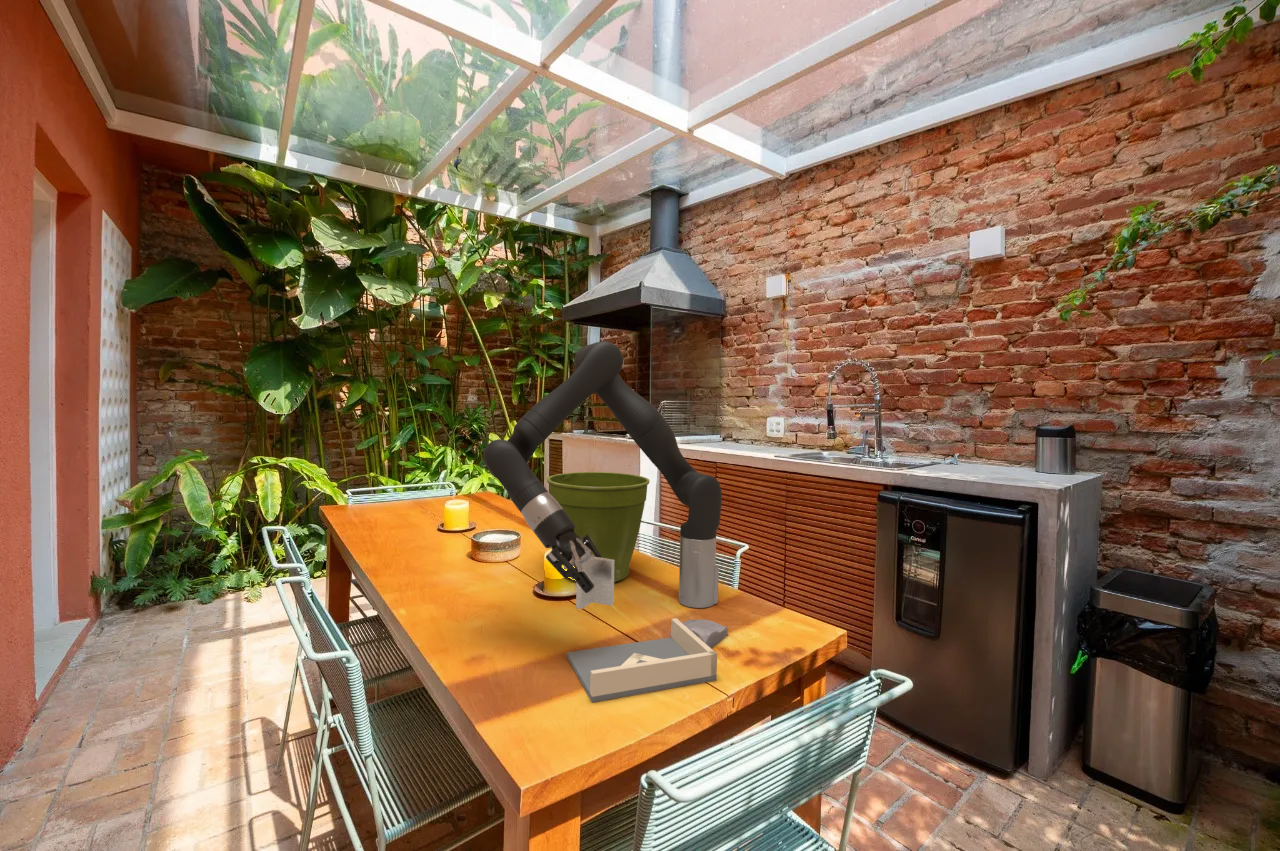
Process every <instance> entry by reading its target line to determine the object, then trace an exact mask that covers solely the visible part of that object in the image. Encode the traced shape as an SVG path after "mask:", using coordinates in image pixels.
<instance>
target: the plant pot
mask: <svg viewBox="0 0 1280 851" xmlns="http://www.w3.org/2000/svg"><path fill="white" fill-rule="evenodd" d="M546 482H547V484H548V488H549V489H548V492H549V493H550V494H551V495H552V496H553V497H554V498H555V499H556V500H557V502H558V503H559V504H560V506H561V507H562V508H563V509H564V511H565V512H566V513H567V515H568V516H569V517H570V518H571V520H572V521H573V522H574V524H575V528H574V533H575V534H576V535H578V536H579V537H580V538H583V537H584V536H585V535H588V536H589V537H590V539H591V540H592V542H593V544H594V545H595V547H596V548H597V550H598V552H599V553H600V555H601V558H606V559H613V560H615V561H614V583H617V582H620V581H623V580H624V579H626V578H627V577H628V576H629V574H630V564H631V560H632V558H633V554H634V551H635V548H636V545H637V540H638V536H639V533H640V529H641V524H642V518H643V513H644V509H645V502H646V501H647V495H648V494H647V493H648V485H649V484H650V482H651V481H650V479H649V478H647V477H645V476H642V475H639V474H638V475H636V474H633V473H632V474H631V473H624V472H623V473H622V472H620V473H619V472H606V471H604V472H603V471H581V472H578V471H576V472H566V473H558V474H553V475H550V476H548V477H546ZM584 554H585V553H584ZM592 554H593V555H594V556H595V554H594V553H593V551H592ZM581 557H582V556H581Z"/></svg>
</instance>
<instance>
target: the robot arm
mask: <svg viewBox="0 0 1280 851" xmlns="http://www.w3.org/2000/svg"><path fill="white" fill-rule="evenodd" d="M573 362H574V368H575V370H574V372H573V373H572V374H571V375H570V376H569V377H568V378H567V379H566V380H564V381H563V382H562V383H561V384H560V385H558V386H557V387H556V388H554V390H551V391H550V392H549V393H548V394H547V395H544V397H543V398H541V399H540V400H539V401H538V402H536V403H535V404H534V405H533V406H532V407H531V408H530V409H528V411H527V412H526V413H525V414H524V415H523V416H522V417H521V418H519V420H518V421H517V422H516V423H515V425H514V427H513V432H512V434H511V436H509V438H508V439H507V440H506V439H500V438H499V439H495V440H492V441H490V442H488V443H487V445H486V447H485V448H484V451H483V456H482V457H483V462H484V464H485V466H486V468H487V469H488V471H489V473H490V474H491V476H492V477H493V478H495V479H497V480H498V481H499V483H500V484H501V485H502V487H503V488H504V489H505V491H506V493H507V494H508V497H509V498H510V500H511V501H512V503H513V504H514V506H515V507H516V508H517V510H518V511H519V512H520V513H521V515H522V517H523V518H524V520H525V522H526V524H527V525H528V526H529V528H530V529H531V531H533V533H534V534H535V536H536V537H537V539H538V540H539V541H540V542H541V544H542V545H543V546H544V547H545V549H551V551H549V552H548V554H547V555H545V559H546V560H547V562H549V563H550V564H551V566H552V567H553V568H554V569H556V571H557V572H558V573H559V574H560V575H561V576H562V578H564V579H565V580H567V579H568V577H571V578H572V579H575V580H576V581H575V583H576V584H577V583H578V584H579V586H580V587H581V588H582V590H583V591H584V592H585V593H588V592H590V591H591V590H592V589H593V588H594V584H593V583H592V582H591V580H590V579H589V578H588V576H587V575H586V574H585V572H584V571H583V572H582V569H581V567H580V565H579V564H578V563H579V562H580V561H582V560H584V559H586V558H588V557H591V556H593V557H600V558H601V555H600V553H599V552H598V550H597V548H596V547H595V545H594V544H593V542H592V540H591V539H590V537H589V536H588V535H585V536H584V537H583V538H580V537H579V536H578V535H576V534H575V533H574V528H575V524H574V522H573V521H572V520H571V518H570V517H569V516H568V515H567V513H566V512H565V511H564V509H563V508H562V507H561V506H560V504H559V503H558V502H557V500H556V499H555V498H554V497H553V496H552V495H551V494H550V492H549V490H548V489H547V488H546V487H545V485H544V484H543V483H542V482H541V480H539V478H538V477H537V476H536V475H535V474H534V473H533V471H532V470H531V468H530V466H529V465H528V464H527V463H528V462H529V461H530V459H531V458H532V456H533V455H534V454H535V452H536V451H537V449H538V448H539V447H540V445H542V443H544V442H545V441H546V439H548V438H549V436H550V435H552V434H553V432H555V430H556V429H557V428H558V427H559V426H560V425H561V424H562V423H563V422H564V421H565V420H566V419H568V417H569V416H570V415H571V414H572V413H573V412H574V411H575V410H576V409H577V408H578V407H579V406H580V405H581V404H582V403H583V402H584V401H586V400H587V399H588V398H589V397H590V396H592V395H593V394H594V393H595V394H596V396H598V397H599V398H600V399H601V400H602V402H604V403H605V405H606V406H607V407H608V409H609V411H611V413H612V415H613V416H614V417H615V418H616V419H617V421H618V422H619V424H620V425H621V426H622V427H623V429H624V430H625V431H626V432H627V434H628V435H629V436H630V437H631V439H632V440H633V441H634V443H635V444H636V446H638V448H639V450H640V451H642V453H644V454H645V456H646V457H647V458H648V459H649V461H650V462H651V463H652V464H653V465H654V466H655V467H656V468H657V469H658V471H660V473H661V474H662V476H663V477H664V479H665V480H666V482H667V483H668V485H669V486H670V488H671V490H672V492H673V494H675V496H676V497H677V499H678V501H679V502H680V503H681V504H682V505H684V506H686V507H688V513H687V514H688V516H687V520H686V521H685V522H683V523H681V525H680V528H679V529H680V530H679V532H680V533H679V536H680V537H679V571H678V572H679V575H678V576H679V577H678V580H679V581H678V602H679V603H680V604H681V605H683V606H685V607H687V608H695V609H702V608H703V609H705V608H709V607H712V606H714V605H715V604H716V605H717V604H718V603H719V572H720V571H719V570H720V568H719V566H718V565H717V564H716V562H717V532H718V529H719V526H720V523H721V512H722V498H723V497H722V495H723V494H722V488H721V485H720V482H719V481H718V479H717V478H715V477H714V476H713V475H709V474H706V473H705V474H704V473H701V472H698V471H697V470H696V469H695V468H694V467H693V466H692V465H691V464H690V463H689V462H688V460H687V459H686V458H685V457H684V455H683V454H682V452H681V451H680V448H679V445H678V442H677V437H676V435H675V433H674V430H673V429H672V427H671V425H670V424H669V423H668V422H667V420H666V419H665V418H664V416H663V415H662V414H661V412H660V411H659V410H658V409H657V408H656V407H655V406H654V405H653V404H652V403H651V402H649V400H647V399H645V398H644V397H643V396H641V395H640V394H639V393H637V392H636V391H635V390H633V389H632V388H631V387H630V386H629V385H628V384H627V383H626V382H625V381H624V380H623V378H622V377H621V375H620V374H619V373H621V370H622V367H623V363H624V357H623V354H622V351H621V350H620V348H619V347H618V346H617V345H615V344H614V343H612V342H610V341H598V342H594V343H589V344H587V345H584V346H583V347H581V348H580V349H578V350H577V351H576V353H575V356H574V361H573ZM592 551H593V553H594V554H595V556H594V555H593V554H592ZM584 553H585V554H584ZM581 556H582V557H581ZM563 566H564V569H567V571H565V570H564V569H563ZM573 566H574V567H575V568H574V567H573Z"/></svg>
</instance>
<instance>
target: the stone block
mask: <svg viewBox="0 0 1280 851" xmlns="http://www.w3.org/2000/svg"><path fill="white" fill-rule="evenodd" d="M681 623H682V624H684V625H685V626H686V627H687V628H688V629H689V630H690V631H692V632H693V633H694V634H695V635H696V636H697V637H698V638H700V639H701V640H702V641H703V642H704V643H705V644H707V645H708V646H709V647H710V648H711V649H712V648H714V647H715V646H716V645H718V644H719V643H720V642H722V641H723V640H724V639H725V638H726V636H728V630H729V628H728V626H726V625H721V624H720V623H719V622H718V623H717V622H716V621H712V620H710V619H709V620H708V619H698V618H697V619H688V620H686V621H684V622H681ZM669 633H670V637H671V638H672V636H671V631H670V632H669Z"/></svg>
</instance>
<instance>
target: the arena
mask: <svg viewBox="0 0 1280 851" xmlns="http://www.w3.org/2000/svg"><path fill="white" fill-rule="evenodd" d="M670 622H671V623H670V624H671V626H670V632H671V636H672V638H671V636H670V637H665V638H657V639H650V640H644V641H637V642H630V643H622V644H617V645H610V646H609V645H608V646H602V647H596V648H589V649H582V650H575V651H569V652H566V658H567V660H568V662H569V664H570V666H571V667H572V670H573V671H574V672H575V675H576V676H577V678H578V680H579V682H580V683H581V685H582V687H583V689H584V691H585V693H586V694H587V697H588V698H589V699H590V701H591V703H596V702H603V701H607V700H608V701H609V700H614V699H618V698H626V697H631V696H636V695H642V694H648V693H653V692H658V691H665V690H671V689H675V688H681V687H687V686H692V685H697V684H703V683H709V682H714V681H717V676H718V673H717V672H718V653H717V652H716V651H714V650H713V649H712V648H710V647H709V646H708V645H707V644H705V643H704V642H703V641H702V640H701V639H700V638H698V637H697V636H696V635H695V634H694V633H693V632H692V631H690V630H689V629H688V628H687V627H686V626H685V625H684V624H682V623H683V622H681V621H680V620H679V619H678V618H671V621H670Z"/></svg>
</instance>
